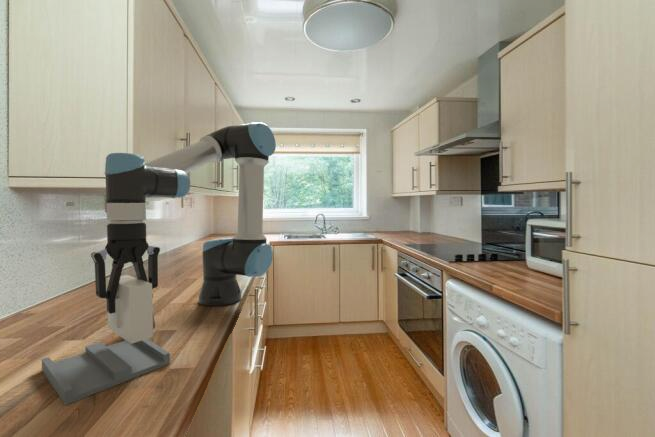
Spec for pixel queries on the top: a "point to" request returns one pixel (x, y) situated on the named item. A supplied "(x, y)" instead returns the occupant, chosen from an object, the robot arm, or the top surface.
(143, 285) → the clay block
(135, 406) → the top surface
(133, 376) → the grey grooved stand
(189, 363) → the top surface
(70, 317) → the top surface
